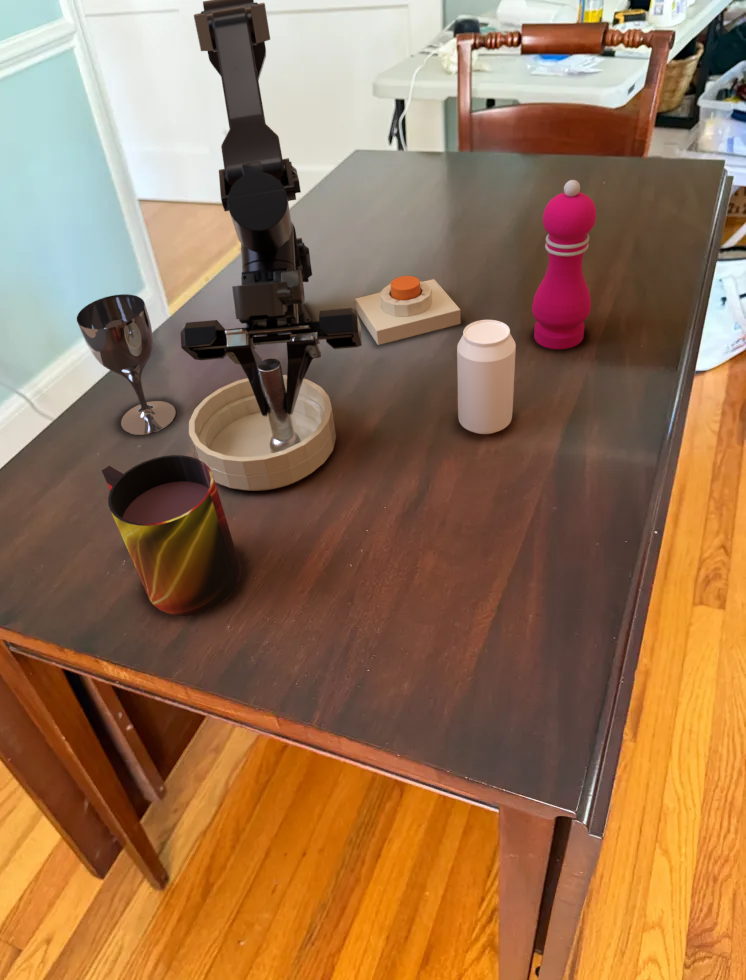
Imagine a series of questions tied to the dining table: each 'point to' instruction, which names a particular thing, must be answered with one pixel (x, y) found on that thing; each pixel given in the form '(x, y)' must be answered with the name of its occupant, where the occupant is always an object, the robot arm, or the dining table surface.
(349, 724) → the dining table surface
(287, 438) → the metal pestle
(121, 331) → the wine glass
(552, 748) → the dining table surface
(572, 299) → the pepper mill
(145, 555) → the mug
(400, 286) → the timer button
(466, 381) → the beverage can
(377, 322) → the push button box
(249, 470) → the bowl
